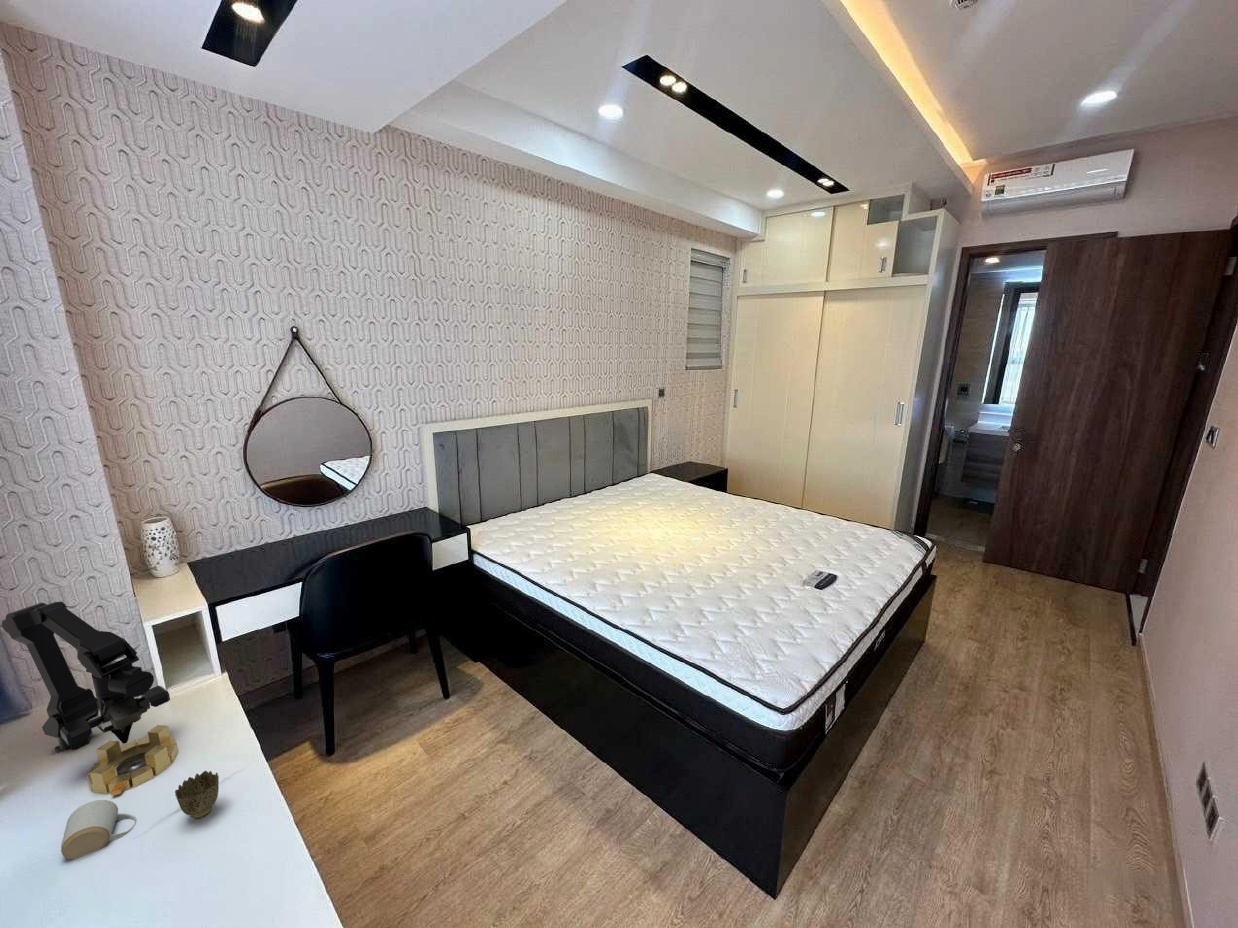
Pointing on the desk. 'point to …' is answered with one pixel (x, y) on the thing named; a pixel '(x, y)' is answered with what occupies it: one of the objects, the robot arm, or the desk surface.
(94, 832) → the ceramic mug
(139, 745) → the ring nut
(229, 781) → the desk surface
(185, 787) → the cup
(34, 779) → the desk surface
